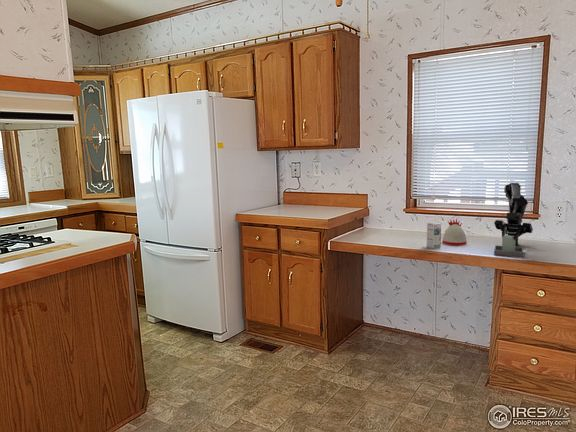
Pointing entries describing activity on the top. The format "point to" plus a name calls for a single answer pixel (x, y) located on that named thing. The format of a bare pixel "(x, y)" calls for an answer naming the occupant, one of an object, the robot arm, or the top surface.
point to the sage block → (508, 243)
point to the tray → (517, 252)
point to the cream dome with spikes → (454, 234)
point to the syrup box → (434, 234)
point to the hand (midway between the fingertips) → (508, 238)
